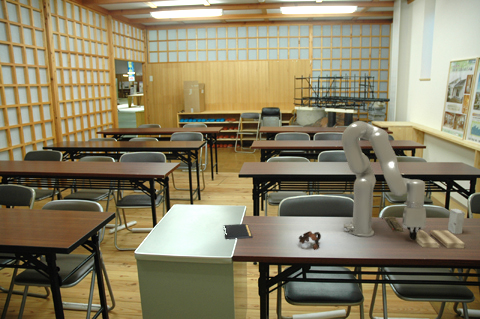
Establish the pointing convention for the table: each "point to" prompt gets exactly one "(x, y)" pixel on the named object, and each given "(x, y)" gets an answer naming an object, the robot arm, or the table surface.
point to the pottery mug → (312, 236)
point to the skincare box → (456, 221)
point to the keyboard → (393, 224)
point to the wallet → (238, 231)
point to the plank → (426, 240)
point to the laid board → (447, 239)
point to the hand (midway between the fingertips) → (412, 238)
